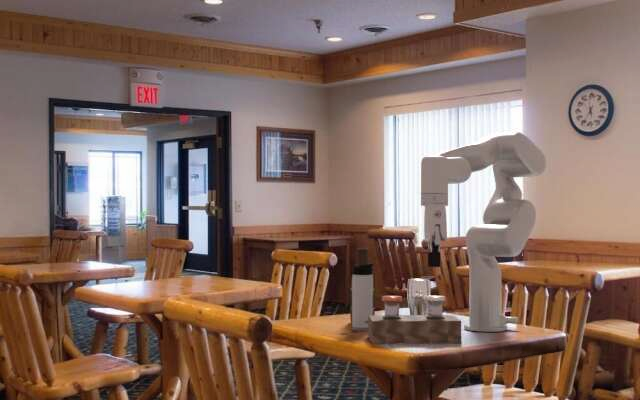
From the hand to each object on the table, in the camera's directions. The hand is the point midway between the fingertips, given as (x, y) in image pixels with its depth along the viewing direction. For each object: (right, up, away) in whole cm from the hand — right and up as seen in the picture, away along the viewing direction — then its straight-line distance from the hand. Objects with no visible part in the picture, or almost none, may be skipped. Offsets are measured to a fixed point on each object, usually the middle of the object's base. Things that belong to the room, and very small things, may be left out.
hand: (434, 266), depth 210 cm
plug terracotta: (-12, -17, 0) cm, 20 cm away
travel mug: (-19, -21, +18) cm, 33 cm away
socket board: (-6, -20, 0) cm, 21 cm away
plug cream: (0, -17, 0) cm, 17 cm away
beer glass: (-2, -21, +19) cm, 29 cm away
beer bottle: (-18, -21, +33) cm, 43 cm away
